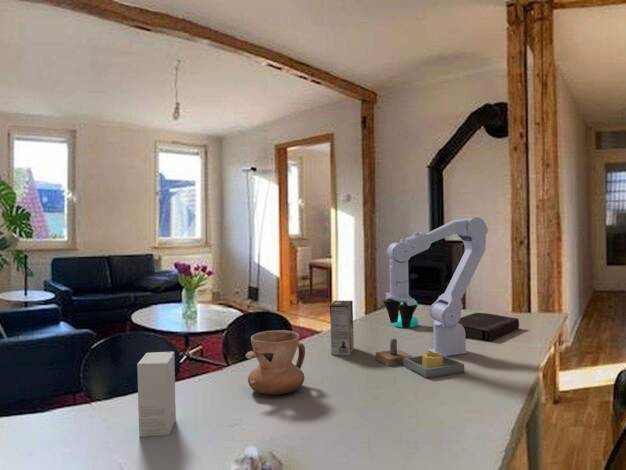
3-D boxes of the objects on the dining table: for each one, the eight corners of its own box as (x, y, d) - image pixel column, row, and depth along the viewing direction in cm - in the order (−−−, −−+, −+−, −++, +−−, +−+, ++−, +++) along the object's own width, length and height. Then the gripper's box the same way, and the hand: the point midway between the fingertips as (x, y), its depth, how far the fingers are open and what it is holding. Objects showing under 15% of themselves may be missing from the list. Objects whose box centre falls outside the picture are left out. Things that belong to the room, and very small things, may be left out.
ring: (435, 363, 146) (435, 351, 146) (446, 368, 141) (446, 356, 140) (419, 365, 144) (419, 353, 144) (429, 371, 139) (429, 358, 139)
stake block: (398, 355, 157) (398, 335, 156) (412, 362, 149) (411, 341, 149) (375, 358, 154) (375, 337, 154) (388, 366, 146) (387, 344, 146)
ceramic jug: (263, 406, 118) (261, 346, 117) (233, 390, 129) (232, 336, 129) (323, 388, 129) (321, 334, 128) (290, 375, 140) (289, 325, 140)
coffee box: (335, 347, 168) (334, 300, 168) (354, 348, 167) (353, 300, 167) (330, 355, 160) (329, 305, 159) (350, 355, 158) (349, 305, 158)
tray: (439, 361, 150) (439, 353, 150) (464, 372, 139) (464, 364, 138) (403, 366, 146) (403, 357, 146) (426, 378, 135) (426, 369, 134)
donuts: (390, 298, 203) (415, 298, 203) (390, 323, 203) (415, 322, 203) (394, 303, 193) (420, 302, 193) (394, 328, 193) (420, 328, 193)
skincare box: (148, 421, 111) (145, 352, 110) (178, 419, 111) (175, 350, 111) (138, 438, 103) (135, 363, 102) (171, 436, 103) (168, 361, 102)
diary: (519, 330, 188) (519, 317, 188) (490, 344, 170) (490, 329, 170) (473, 323, 201) (473, 311, 201) (441, 335, 183) (441, 321, 183)
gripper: (376, 279, 160) (377, 321, 161) (399, 285, 147) (400, 331, 147) (396, 278, 163) (397, 319, 163) (420, 283, 149) (421, 328, 150)
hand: (399, 325), depth 155 cm, fingers open, 7 cm apart
